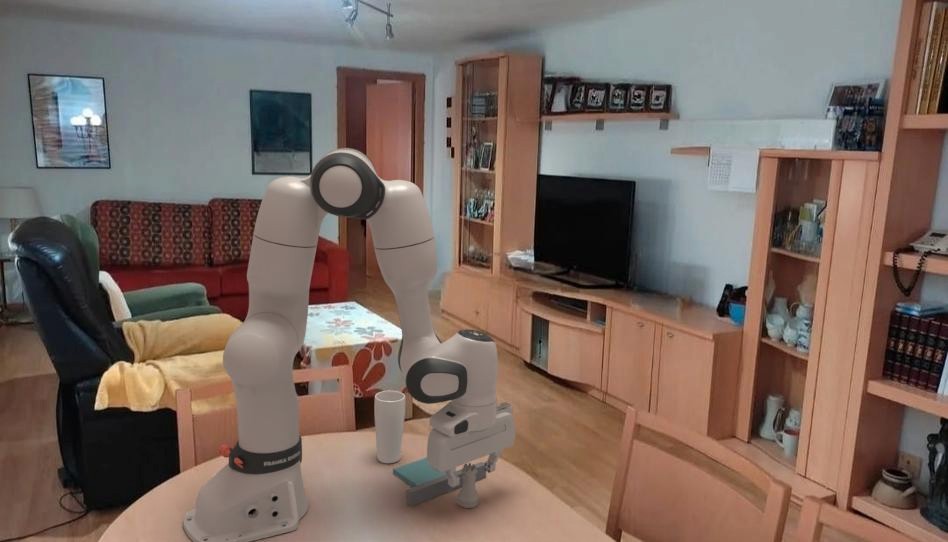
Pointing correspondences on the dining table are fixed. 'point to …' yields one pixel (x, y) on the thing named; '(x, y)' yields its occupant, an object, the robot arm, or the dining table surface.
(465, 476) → the rook chess piece
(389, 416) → the drinking glass
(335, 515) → the dining table surface
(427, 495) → the low wall
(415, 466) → the coaster
